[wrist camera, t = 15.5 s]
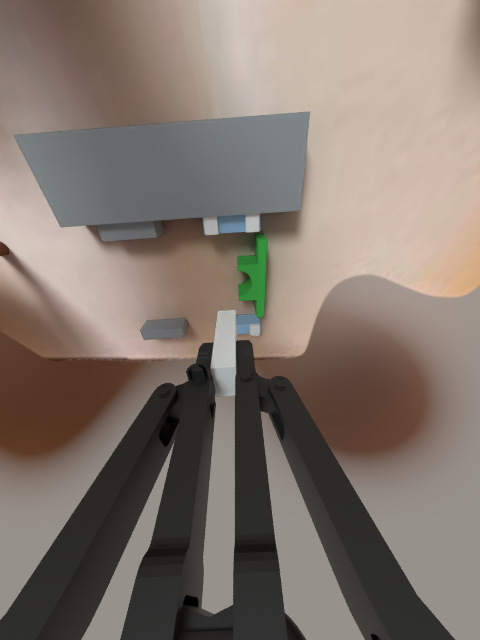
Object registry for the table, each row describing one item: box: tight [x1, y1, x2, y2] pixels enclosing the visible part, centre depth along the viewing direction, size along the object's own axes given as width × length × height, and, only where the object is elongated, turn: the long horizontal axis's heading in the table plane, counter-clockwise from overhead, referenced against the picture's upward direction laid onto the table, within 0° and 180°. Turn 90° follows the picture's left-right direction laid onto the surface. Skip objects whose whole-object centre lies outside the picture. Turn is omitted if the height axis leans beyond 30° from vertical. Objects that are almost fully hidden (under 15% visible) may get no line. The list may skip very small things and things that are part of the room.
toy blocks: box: [14, 112, 310, 340], centre depth 27 cm, size 28×26×4 cm
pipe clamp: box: [238, 234, 267, 317], centre depth 29 cm, size 11×4×5 cm, turn 2°
